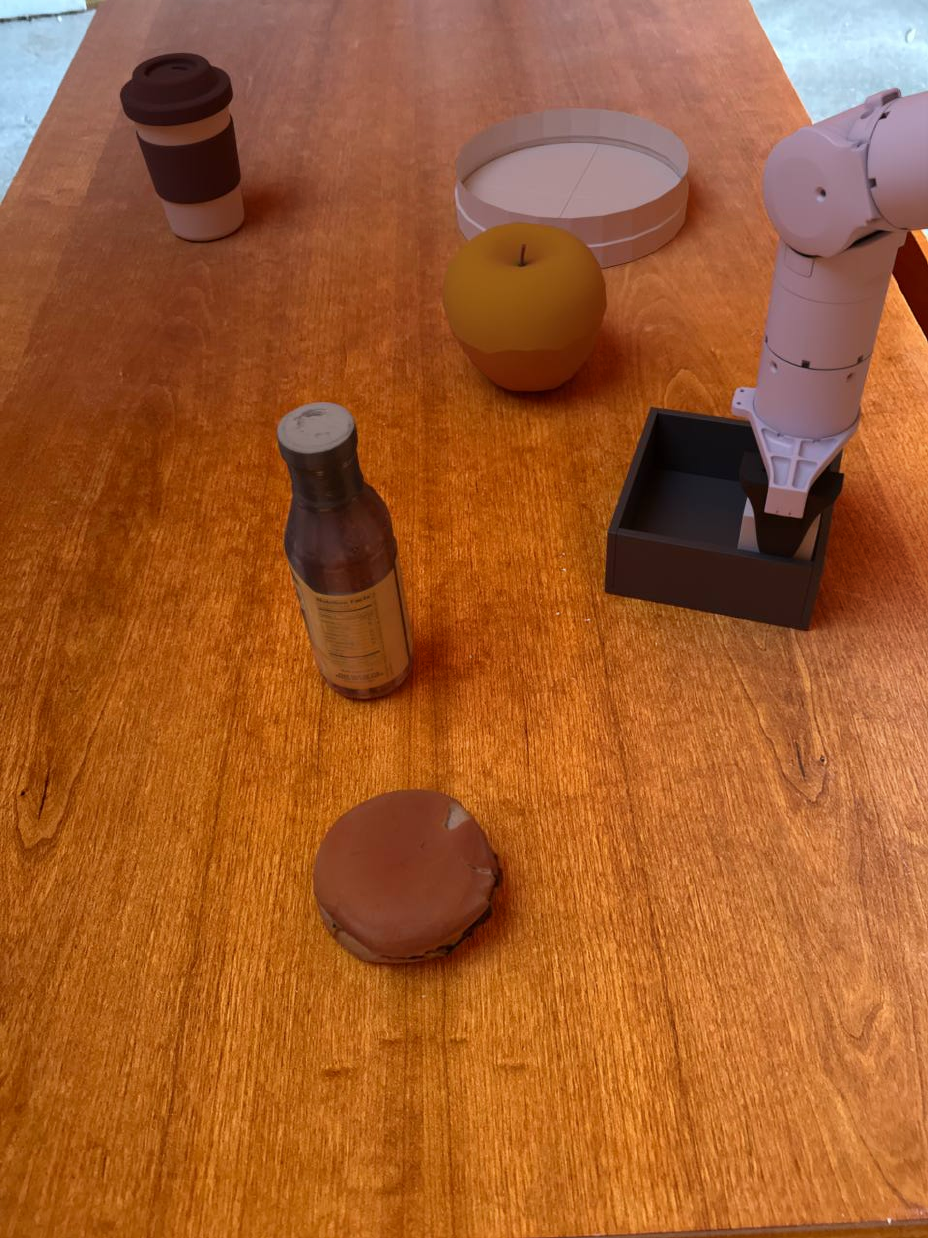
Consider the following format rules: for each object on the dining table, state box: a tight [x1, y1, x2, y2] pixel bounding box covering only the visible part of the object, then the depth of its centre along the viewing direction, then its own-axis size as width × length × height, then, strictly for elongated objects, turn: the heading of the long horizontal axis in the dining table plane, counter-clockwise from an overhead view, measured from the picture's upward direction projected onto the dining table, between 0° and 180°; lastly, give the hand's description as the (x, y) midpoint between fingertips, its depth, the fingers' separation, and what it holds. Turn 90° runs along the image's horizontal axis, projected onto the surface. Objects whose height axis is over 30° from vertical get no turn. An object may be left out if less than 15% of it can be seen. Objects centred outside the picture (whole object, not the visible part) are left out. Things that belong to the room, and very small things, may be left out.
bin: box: [604, 406, 844, 632], centre depth 76 cm, size 13×13×6 cm
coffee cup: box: [119, 52, 245, 242], centre depth 106 cm, size 10×10×15 cm
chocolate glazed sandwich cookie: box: [312, 788, 504, 964], centre depth 60 cm, size 10×9×5 cm
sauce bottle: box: [276, 401, 414, 700], centre depth 65 cm, size 6×6×20 cm
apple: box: [440, 222, 608, 392], centre depth 88 cm, size 13×13×11 cm
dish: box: [454, 107, 690, 269], centre depth 108 cm, size 22×22×5 cm
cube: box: [738, 497, 821, 561], centre depth 71 cm, size 4×4×4 cm
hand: (781, 526), depth 71 cm, fingers closed on cube, 4 cm apart
